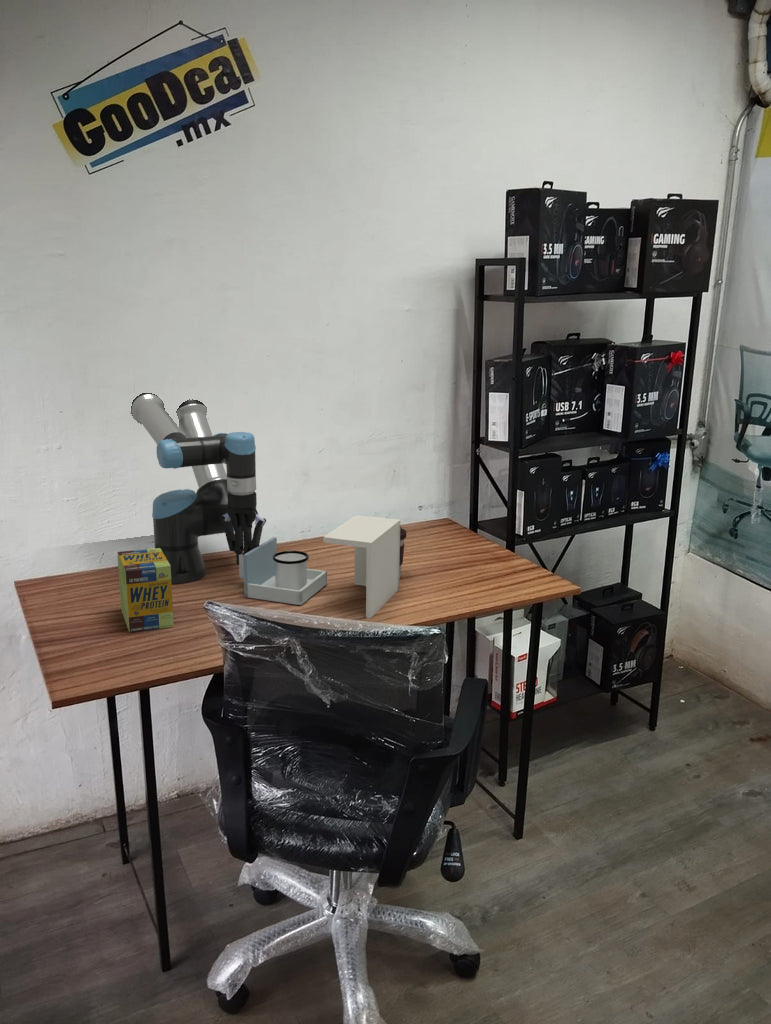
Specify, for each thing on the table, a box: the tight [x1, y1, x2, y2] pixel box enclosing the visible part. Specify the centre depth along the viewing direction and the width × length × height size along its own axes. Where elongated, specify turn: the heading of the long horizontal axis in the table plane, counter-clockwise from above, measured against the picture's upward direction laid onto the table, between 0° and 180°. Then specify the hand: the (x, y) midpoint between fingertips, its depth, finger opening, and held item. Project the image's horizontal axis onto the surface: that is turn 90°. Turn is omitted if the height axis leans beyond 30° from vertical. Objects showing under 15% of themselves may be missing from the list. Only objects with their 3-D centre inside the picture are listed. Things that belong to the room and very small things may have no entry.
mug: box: [273, 550, 310, 590], centre depth 223 cm, size 12×10×9 cm
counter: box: [323, 514, 401, 619], centre depth 217 cm, size 12×22×19 cm, turn 161°
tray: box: [243, 536, 328, 606], centre depth 223 cm, size 16×17×11 cm
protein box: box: [116, 547, 175, 634], centre depth 203 cm, size 10×15×16 cm
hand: (244, 576), depth 228 cm, fingers closed
